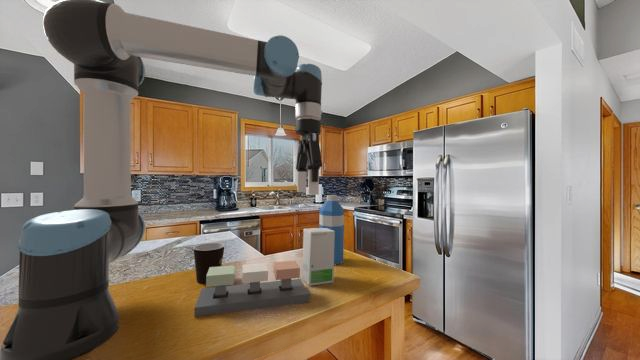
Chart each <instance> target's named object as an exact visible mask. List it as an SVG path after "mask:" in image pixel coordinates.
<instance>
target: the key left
mask: <svg viewBox="0 0 640 360" xmlns="http://www.w3.org/2000/svg"><path fill="white" fill-rule="evenodd" d="M235 270H236V269H235V265H222V266H219V267H210V268H209V270H208V273H207V275H206V284H205V288H211V287H215V296H216V295H225V294H226V288H227V286H232V285H235V284H234V283H235Z"/></svg>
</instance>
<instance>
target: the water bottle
mask: <svg viewBox="0 0 640 360" xmlns="http://www.w3.org/2000/svg"><path fill="white" fill-rule="evenodd" d="M338 196H339V195H334V194H331V195H330V194H328V195H326V200H325V202H324V203H323V204H322V206H321V208H319V217H318V219H319V220H318V222H319V224H318V225H319V226H318V228H328V229H330V230H333V231H335V239H334V266H336V265H335V264H340V263H341V262H342V263H344V248H345V247H344V236H345V235H344V234H345V230H344V229H345V210H344V208H343V206H342V205H341V203H340V202H339V200H338V199H339V198H338ZM342 263H341V264H342ZM341 264H340V265H341Z"/></svg>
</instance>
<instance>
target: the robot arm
mask: <svg viewBox="0 0 640 360" xmlns="http://www.w3.org/2000/svg"><path fill="white" fill-rule="evenodd" d="M42 27H43V31H44V34H45V37H46V39H47V41H48V42H49V44H50V45H51V46H52V48H53V49H54V50H55V51H56V52H57V53H58V54H59V55H61V56H62V57H63V58H65V59H66V60H67V61H69V62H70V63H72V64H73V83H74V85H75V86H76V87H77V88H78V89H79V90H81V92H82V93H83V94H82V95H83V97H82V98H83V197H82V198H81V199H79V201H78V202H76V203H75V204H74V206H73V207H74V209H70V210H69V209H67V210H63V211H54V212H51V213H50V212H49V213H45V214H41V215H38V216H36V217H33V218H30V219H29V220H27V221H26V222H24V224H23V225H22V227H21V229H20V238H19V241H18V244H17V248H18V250H19V251H18V252H19V260H18V262H19V263H18V308H17V312H16V314H15V316H14V318H13V320H12V322H11V324H10V326H9V328H8V330H7V333H6V335H5V337H4V339H3V342H2V343H1V345H0V360H70V359H72V358H76V357H78V356H80V355H83V354H84V353H87V352H89V351H91V350H93V349H95V348H97V347H98V346H100V345H101V344H103V343H105V342H106V341H107V340H109V339H110V338H111V337H112V336H113V335H115V333H116V332H118V331H117V330H118V329H119V327H120V313H119V311H118V308H117V305H116V303H115V301H114V298H113V297H112V293H111V292H110V287H109V284H110V283H109V279H110V264H111V263H113V262H114V261H115V260H117V259H119V258H121V257H124V256H126V255H127V254H129V253H130V252H132V251H133V250H134V249H135V248H136V247H138V245H139V244H140V243H141V241H142V239H143V237H144V236H145V232H146V224H145V220H144V218H143V216H142V215H141V214H140V213H139V201H138V200H137V199H135V198H134V197H133V196H132V193H131V192H132V181H131V180H132V177H131V176H132V174H131V173H132V172H131V171H132V169H131V168H132V163H131V162H132V147H131V146H132V145H131V144H132V142H131V141H132V136H131V135H132V134H131V133H132V131H131V126H132V125H131V124H132V123H131V122H132V120H131V118H132V114H131V111H132V109H131V108H132V104H131V103H132V100H133V99H135V98H136V97H138V95H139V86H140V85H142V83H143V82H144V80H145V76H146V68H145V65H144V62H143V58H144V59H149V60H155V61H160V62H161V61H163V62H168V63H173V64H180V65H187V66H192V67H199V68H204V69H211V70H217V71H223V72H228V73H229V72H230V73H235V74H240V75H246V76H247V75H248V76H253V82H252V83H253V85H252V86H253V89H252V90H253V93H254V95H256V96H261V97H265V98H279V99H289V100H295V108H294V109H295V110H294V113H295V115H294V117H295V118H294V119H295V124H294V126H295V127H294V131H295V134H297V135H298V136H301V139H299V140H298V147H297V149H298V150H297V157H296V166H295V170H296V171H297V177H296V179H297V184H296V185H297V186H296V187H297V188H296V192H297V193H306V192H307V193H308V194H307V195H313V196H314V195H315V196H316V195H319V194H320V193H319V191H320V188H319V187H320V169H321V168H322V166H323V160H322V154H321V148H320V147H321V145H320V135H321V133H322V122H321V119H322V114H323V110H322V91H323V90H322V86H323V79H322V78H323V76H322V70H321V68H320V67H319V66H318V65H316V64H314V63H313V64H312V63H301V64H299V65H298V63H299V58H300V52H299V49H298V46H297V44H296V43H295V42H294V41H293V40H292V39H291V38H289V37H287V36H285V35H281V34H280V35H275V36H272V37H270V38H269V39H268V40H267V41H264V40H259V39H253V38H248V37H243V36H240V35H234V34H230V33H229V34H228V33H225V32H220V31H215V30H210V29H206V28H201V27H196V26H191V25H187V24H182V23H177V22H172V21H168V20H163V19H157V18H152V17H148V16H144V15H139V14H134V13H129V12H126V11H125V10H124V9H123V8H122V7H121V6H120V5H119V4H115V3H111V2H106V1H102V0H58V1H56V2H54V3H52V4H51V5H50V6H49V7H48V8H47V9H46V10H45V12H44V16H43V18H42ZM307 164H308V166H307ZM307 172H308V174H307ZM307 175H308V176H307ZM307 177H308V181H307ZM307 184H308V186H307ZM307 188H308V189H307Z"/></svg>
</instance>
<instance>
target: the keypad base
mask: <svg viewBox="0 0 640 360" xmlns="http://www.w3.org/2000/svg"><path fill="white" fill-rule="evenodd" d="M301 279H302V278H292V279H291V287H290V288H282V287H281V280H274V281H262V282H260V291H253V292H250V283H242V284H236V285H235V284H231V285H227V288H226V294H225V295H216V296H215V286H211V287H205V288H204V287H203V288H201V290H200V292H199V295H198V297H197V300H196V302H195V306H194V309H193V310H194V314H193V316H194V317H203V316H209V315H211V316H213V315H218V314H227V313H233V312H241V311H248V310H249V311H250V310H257V309H265V308H272V307H281V306H288V305H296V304H304V303H309V302H310V293H309V292H308V290H307V288H306V286H305V285H304V282H303V281H302V280H301Z"/></svg>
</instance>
